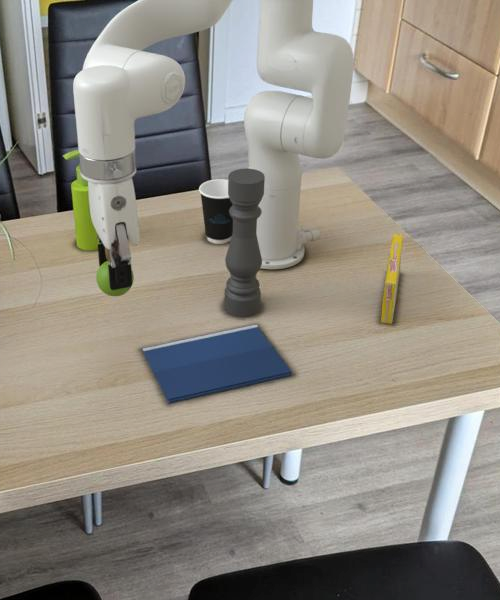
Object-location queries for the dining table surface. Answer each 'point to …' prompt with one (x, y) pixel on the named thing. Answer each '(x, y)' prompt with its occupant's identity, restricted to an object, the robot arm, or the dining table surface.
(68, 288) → the dining table surface
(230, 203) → the dixie cup
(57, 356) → the dining table surface
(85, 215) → the soap dispenser
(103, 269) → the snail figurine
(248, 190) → the candle holder
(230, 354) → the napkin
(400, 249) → the candy box
